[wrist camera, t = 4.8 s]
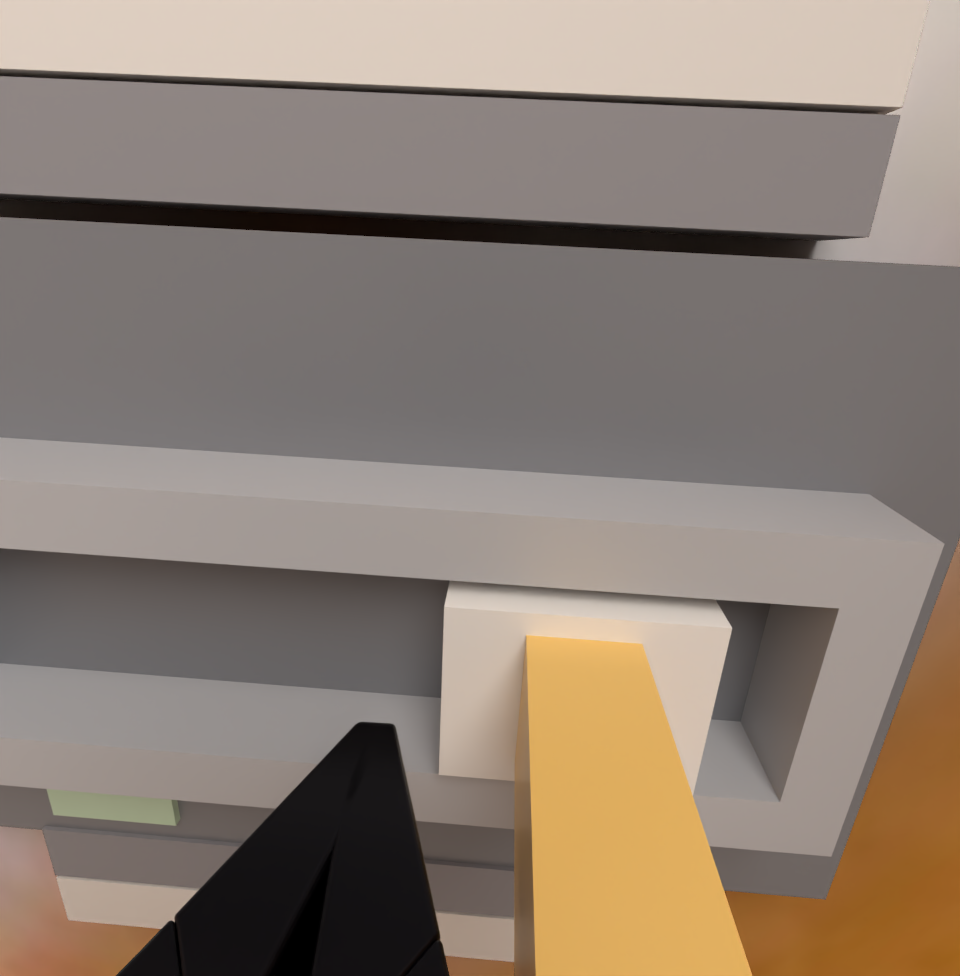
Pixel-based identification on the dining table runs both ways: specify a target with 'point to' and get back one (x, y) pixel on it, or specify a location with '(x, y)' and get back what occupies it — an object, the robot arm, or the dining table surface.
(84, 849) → the light gray block
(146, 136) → the cream-topped gray bar
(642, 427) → the breaker panel
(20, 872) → the dining table surface
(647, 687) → the breaker lever
